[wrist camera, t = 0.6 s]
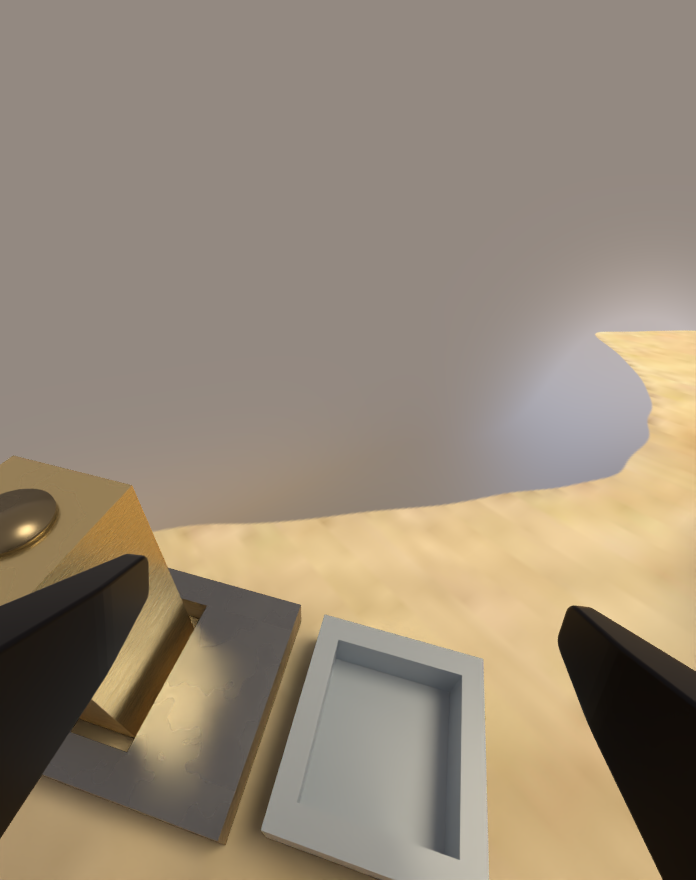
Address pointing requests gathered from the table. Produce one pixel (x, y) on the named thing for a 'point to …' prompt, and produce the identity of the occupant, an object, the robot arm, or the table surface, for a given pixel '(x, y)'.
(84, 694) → the robot arm
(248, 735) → the grey holder tray
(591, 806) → the table surface
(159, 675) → the brass tower with button
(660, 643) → the table surface
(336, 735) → the parts tray
